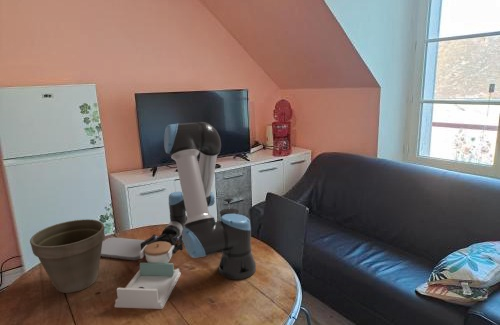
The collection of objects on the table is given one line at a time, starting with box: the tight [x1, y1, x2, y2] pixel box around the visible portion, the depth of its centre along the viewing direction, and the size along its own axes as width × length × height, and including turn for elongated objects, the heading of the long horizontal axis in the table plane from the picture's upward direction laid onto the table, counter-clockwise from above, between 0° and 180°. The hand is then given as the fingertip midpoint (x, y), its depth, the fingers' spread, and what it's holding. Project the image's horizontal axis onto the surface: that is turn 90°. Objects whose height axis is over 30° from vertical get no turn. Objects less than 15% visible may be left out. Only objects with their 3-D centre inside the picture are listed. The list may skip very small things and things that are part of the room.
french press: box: [216, 198, 240, 222], centre depth 159 cm, size 12×9×23 cm
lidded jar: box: [144, 241, 172, 263], centre depth 139 cm, size 11×11×9 cm
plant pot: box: [29, 218, 106, 294], centre depth 131 cm, size 25×25×22 cm
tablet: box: [100, 236, 146, 261], centre depth 159 cm, size 16×26×2 cm, turn 76°
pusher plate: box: [139, 262, 175, 276], centre depth 134 cm, size 1×13×5 cm, turn 85°
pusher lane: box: [114, 268, 182, 310], centre depth 126 cm, size 22×17×7 cm
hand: (154, 255), depth 134 cm, fingers closed on lidded jar, 11 cm apart
